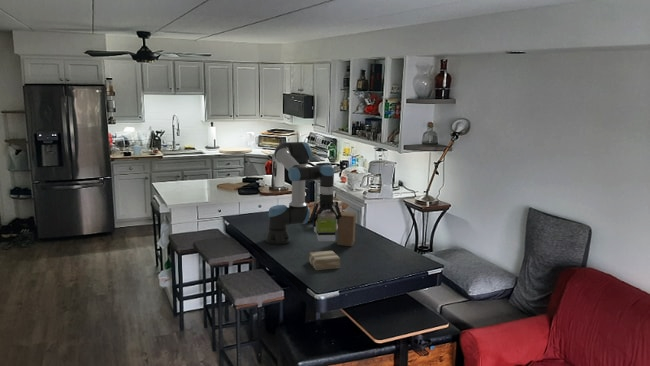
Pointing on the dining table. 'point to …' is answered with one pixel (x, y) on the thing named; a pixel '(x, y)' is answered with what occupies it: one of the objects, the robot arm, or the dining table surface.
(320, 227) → the tea box
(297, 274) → the dining table surface
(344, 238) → the wooden block
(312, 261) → the birch plinth
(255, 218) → the dining table surface
